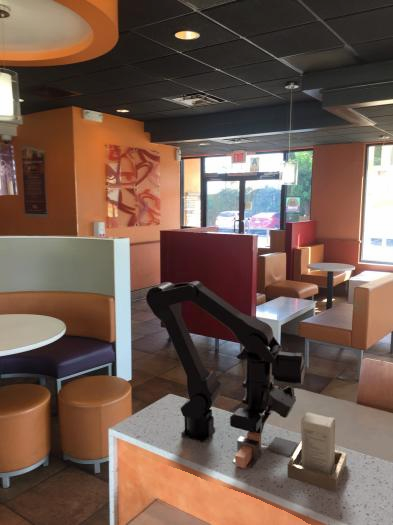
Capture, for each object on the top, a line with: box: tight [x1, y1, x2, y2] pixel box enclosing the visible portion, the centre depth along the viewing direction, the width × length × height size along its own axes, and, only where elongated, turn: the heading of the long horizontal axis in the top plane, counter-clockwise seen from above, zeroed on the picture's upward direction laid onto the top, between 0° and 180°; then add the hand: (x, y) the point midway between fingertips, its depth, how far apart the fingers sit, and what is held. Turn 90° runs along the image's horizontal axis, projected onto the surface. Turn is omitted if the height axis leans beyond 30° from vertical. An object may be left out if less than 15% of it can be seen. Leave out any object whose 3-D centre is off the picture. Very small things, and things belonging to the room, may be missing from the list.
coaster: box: [266, 436, 299, 458], centre depth 105 cm, size 6×6×1 cm
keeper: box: [232, 436, 268, 469], centre depth 102 cm, size 5×9×4 cm, turn 150°
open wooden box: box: [286, 442, 348, 493], centre depth 95 cm, size 10×10×3 cm
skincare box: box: [300, 411, 336, 476], centre depth 95 cm, size 6×4×12 cm
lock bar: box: [234, 431, 262, 469], centre depth 100 cm, size 3×9×4 cm, turn 150°
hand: (257, 439), depth 105 cm, fingers closed
